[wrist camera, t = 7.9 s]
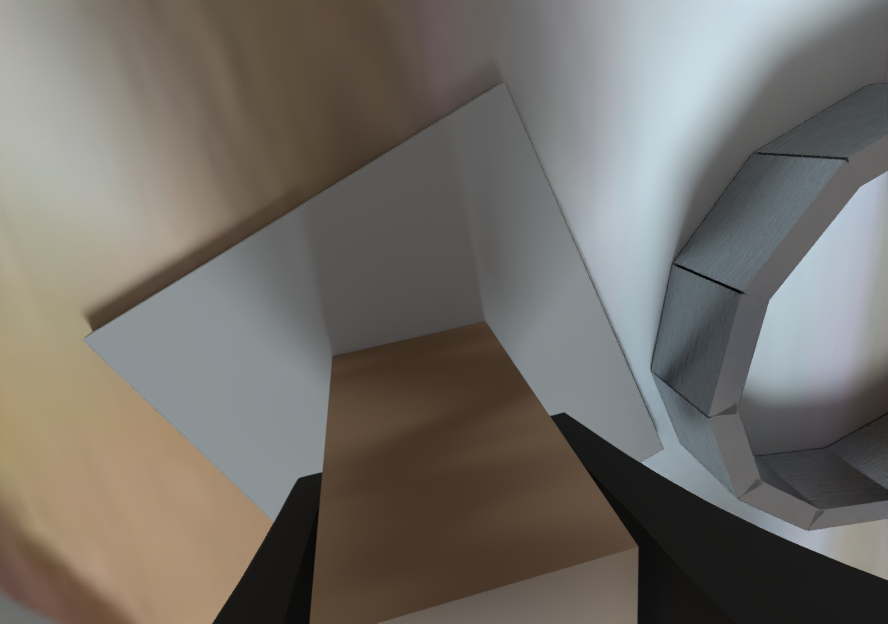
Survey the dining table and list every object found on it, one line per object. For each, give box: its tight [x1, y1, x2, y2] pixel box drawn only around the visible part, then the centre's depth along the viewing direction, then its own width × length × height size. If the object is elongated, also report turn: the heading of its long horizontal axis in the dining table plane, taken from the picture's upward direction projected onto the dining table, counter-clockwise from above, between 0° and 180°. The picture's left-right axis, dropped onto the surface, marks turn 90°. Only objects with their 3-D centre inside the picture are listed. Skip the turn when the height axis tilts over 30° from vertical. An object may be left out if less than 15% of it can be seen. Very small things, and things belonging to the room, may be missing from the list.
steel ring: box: [651, 83, 888, 531], centre depth 13 cm, size 13×13×2 cm
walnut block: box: [309, 322, 638, 624], centre depth 9 cm, size 4×4×7 cm
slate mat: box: [82, 82, 664, 522], centre depth 13 cm, size 12×11×1 cm
